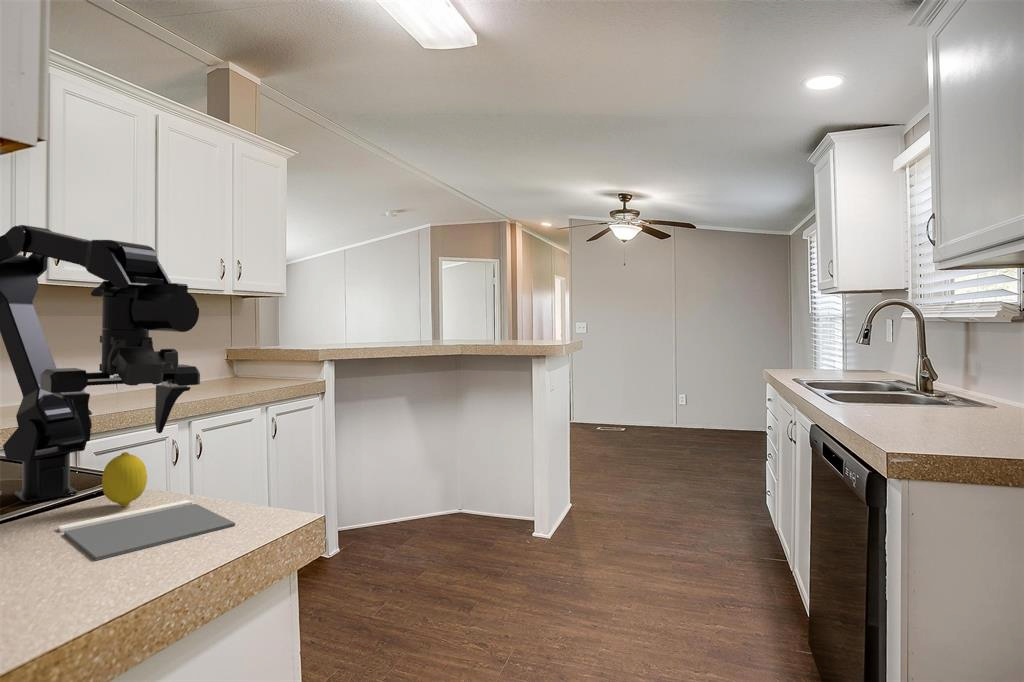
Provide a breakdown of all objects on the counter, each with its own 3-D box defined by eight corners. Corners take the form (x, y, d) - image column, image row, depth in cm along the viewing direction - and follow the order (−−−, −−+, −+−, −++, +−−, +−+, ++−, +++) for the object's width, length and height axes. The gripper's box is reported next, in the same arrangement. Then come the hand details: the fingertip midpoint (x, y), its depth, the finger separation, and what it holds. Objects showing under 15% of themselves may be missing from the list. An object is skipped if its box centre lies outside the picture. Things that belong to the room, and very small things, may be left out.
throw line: (57, 529, 77) (57, 526, 77) (187, 502, 89) (187, 499, 89) (61, 531, 76) (61, 528, 76) (192, 504, 89) (192, 501, 89)
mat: (64, 534, 75) (64, 531, 75) (195, 506, 88) (195, 503, 88) (96, 560, 68) (96, 557, 68) (235, 525, 80) (235, 522, 80)
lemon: (124, 514, 83) (125, 457, 83) (91, 510, 85) (92, 454, 84) (155, 502, 89) (156, 449, 89) (124, 499, 90) (124, 447, 90)
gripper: (64, 331, 74) (63, 456, 74) (217, 332, 88) (215, 436, 89) (39, 327, 81) (38, 442, 81) (185, 329, 95) (183, 426, 96)
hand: (124, 436), depth 86 cm, fingers open, 9 cm apart
